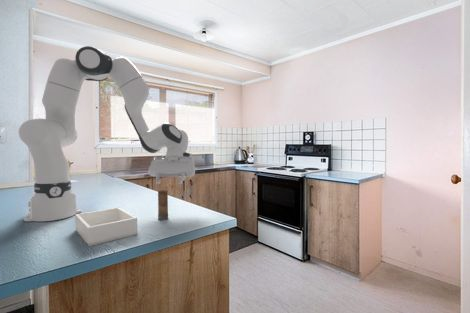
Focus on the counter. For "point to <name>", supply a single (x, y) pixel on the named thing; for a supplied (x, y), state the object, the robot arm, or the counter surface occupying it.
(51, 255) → the counter surface
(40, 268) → the counter surface
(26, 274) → the counter surface
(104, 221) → the bin
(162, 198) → the brown wooden block
